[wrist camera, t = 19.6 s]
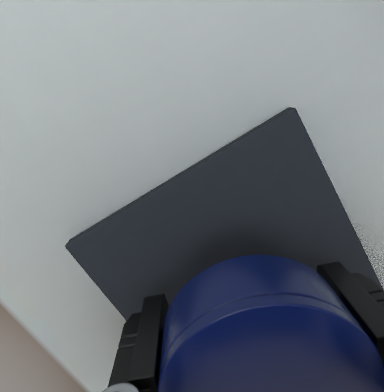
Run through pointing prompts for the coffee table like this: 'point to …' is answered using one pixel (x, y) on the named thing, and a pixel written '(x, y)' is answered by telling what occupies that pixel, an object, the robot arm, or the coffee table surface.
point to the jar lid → (264, 333)
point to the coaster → (224, 218)
